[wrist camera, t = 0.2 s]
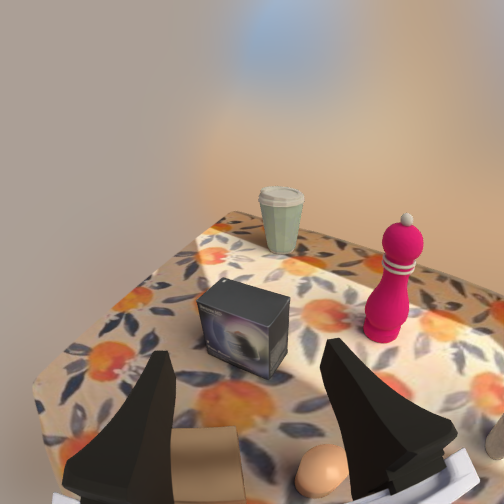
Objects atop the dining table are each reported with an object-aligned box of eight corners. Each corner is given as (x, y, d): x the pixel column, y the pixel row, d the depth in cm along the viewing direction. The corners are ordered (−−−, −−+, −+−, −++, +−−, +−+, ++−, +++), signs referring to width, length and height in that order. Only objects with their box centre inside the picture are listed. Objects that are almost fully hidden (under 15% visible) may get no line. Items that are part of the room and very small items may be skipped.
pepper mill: (369, 311, 46) (389, 201, 36) (405, 324, 41) (435, 213, 32) (353, 335, 41) (375, 214, 32) (393, 351, 36) (430, 229, 27)
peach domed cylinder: (342, 491, 19) (357, 478, 16) (299, 502, 19) (305, 492, 16) (331, 458, 23) (343, 438, 20) (290, 467, 23) (295, 450, 20)
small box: (205, 355, 39) (192, 299, 34) (229, 329, 44) (222, 275, 39) (268, 382, 34) (268, 326, 29) (289, 351, 39) (292, 294, 34)
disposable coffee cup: (298, 238, 73) (298, 183, 67) (308, 258, 64) (311, 195, 57) (258, 241, 73) (255, 185, 66) (262, 261, 63) (260, 197, 57)
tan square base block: (246, 503, 19) (244, 499, 18) (160, 503, 18) (150, 498, 17) (237, 436, 27) (235, 425, 26) (162, 438, 26) (155, 427, 25)
